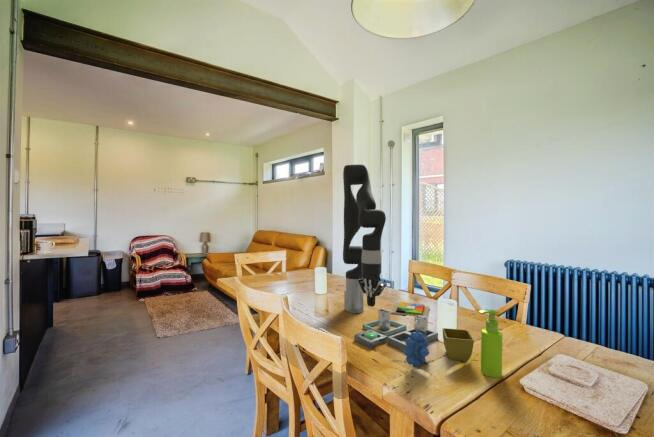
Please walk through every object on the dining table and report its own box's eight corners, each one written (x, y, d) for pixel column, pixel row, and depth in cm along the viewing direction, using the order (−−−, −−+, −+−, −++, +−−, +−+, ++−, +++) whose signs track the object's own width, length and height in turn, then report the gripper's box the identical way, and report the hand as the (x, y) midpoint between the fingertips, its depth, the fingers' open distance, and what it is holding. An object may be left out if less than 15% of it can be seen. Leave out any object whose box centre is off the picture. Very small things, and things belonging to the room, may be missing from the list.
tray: (362, 330, 132) (362, 324, 132) (385, 323, 140) (385, 317, 140) (383, 340, 122) (383, 333, 122) (406, 332, 130) (406, 325, 130)
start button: (361, 341, 120) (361, 334, 120) (370, 338, 123) (370, 331, 123) (370, 346, 116) (370, 338, 116) (380, 342, 119) (380, 335, 119)
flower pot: (474, 366, 101) (474, 339, 101) (446, 364, 103) (446, 337, 103) (467, 354, 110) (467, 329, 110) (441, 352, 112) (442, 327, 112)
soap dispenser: (474, 368, 100) (474, 307, 100) (494, 367, 101) (495, 307, 100) (484, 378, 94) (485, 313, 94) (506, 377, 95) (507, 313, 95)
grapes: (415, 378, 94) (415, 339, 94) (398, 369, 100) (398, 332, 99) (438, 367, 101) (439, 331, 100) (421, 359, 106) (422, 325, 106)
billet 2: (411, 337, 122) (411, 316, 122) (419, 334, 125) (419, 313, 125) (422, 341, 118) (422, 319, 118) (430, 338, 121) (430, 317, 121)
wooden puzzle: (389, 316, 152) (389, 309, 152) (396, 305, 169) (396, 299, 169) (426, 321, 145) (426, 313, 145) (429, 309, 162) (429, 302, 162)
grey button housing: (354, 342, 120) (354, 334, 120) (370, 336, 126) (370, 329, 125) (370, 350, 113) (370, 342, 113) (387, 344, 118) (387, 336, 118)
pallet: (406, 354, 110) (406, 345, 110) (387, 345, 117) (387, 337, 117) (437, 341, 121) (438, 332, 121) (418, 334, 128) (418, 326, 128)
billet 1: (375, 329, 132) (376, 309, 131) (384, 326, 134) (384, 307, 134) (384, 332, 127) (384, 312, 127) (392, 330, 130) (392, 310, 130)
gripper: (352, 259, 122) (352, 303, 122) (377, 264, 111) (376, 312, 111) (366, 258, 126) (366, 300, 127) (391, 262, 115) (390, 308, 116)
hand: (371, 305), depth 119 cm, fingers closed
